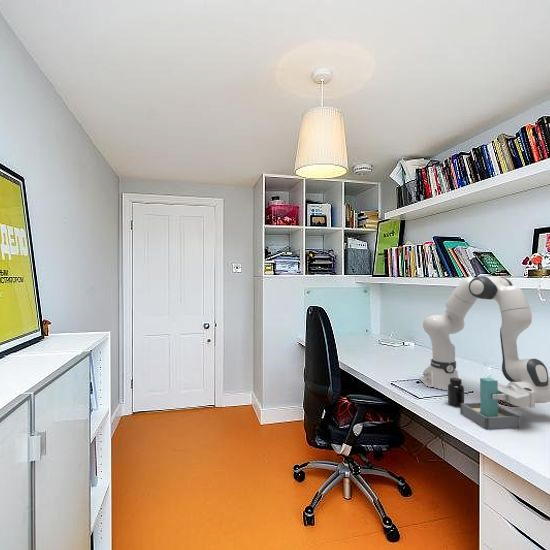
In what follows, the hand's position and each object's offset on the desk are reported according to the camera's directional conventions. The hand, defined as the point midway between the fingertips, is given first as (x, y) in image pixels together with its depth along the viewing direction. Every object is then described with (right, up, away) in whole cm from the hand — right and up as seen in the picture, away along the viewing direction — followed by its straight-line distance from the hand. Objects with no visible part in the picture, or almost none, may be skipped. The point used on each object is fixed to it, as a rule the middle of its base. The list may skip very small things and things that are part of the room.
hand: (486, 394), depth 147 cm
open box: (+1, -11, 0) cm, 11 cm away
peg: (+1, -9, 0) cm, 9 cm away
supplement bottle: (-4, -11, +18) cm, 21 cm away
